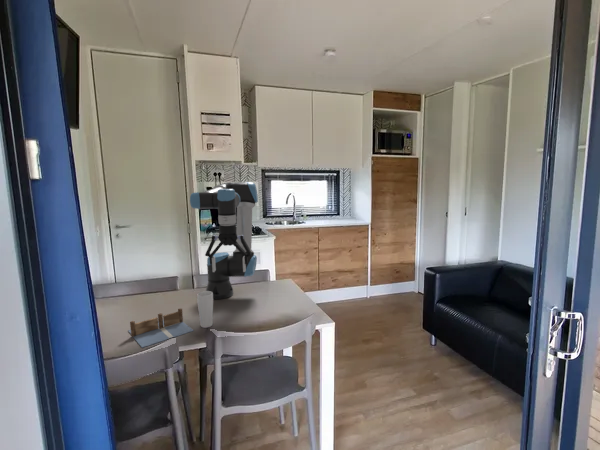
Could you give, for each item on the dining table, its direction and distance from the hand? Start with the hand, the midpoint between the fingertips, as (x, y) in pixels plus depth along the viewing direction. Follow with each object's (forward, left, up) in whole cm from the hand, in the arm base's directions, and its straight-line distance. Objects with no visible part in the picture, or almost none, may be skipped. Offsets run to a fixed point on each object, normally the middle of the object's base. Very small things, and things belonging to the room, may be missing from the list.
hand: (229, 271), depth 148 cm
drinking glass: (-3, -10, -24) cm, 26 cm away
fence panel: (-14, -32, -23) cm, 42 cm away
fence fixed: (-14, -21, -24) cm, 35 cm away
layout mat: (-12, -27, -24) cm, 38 cm away
